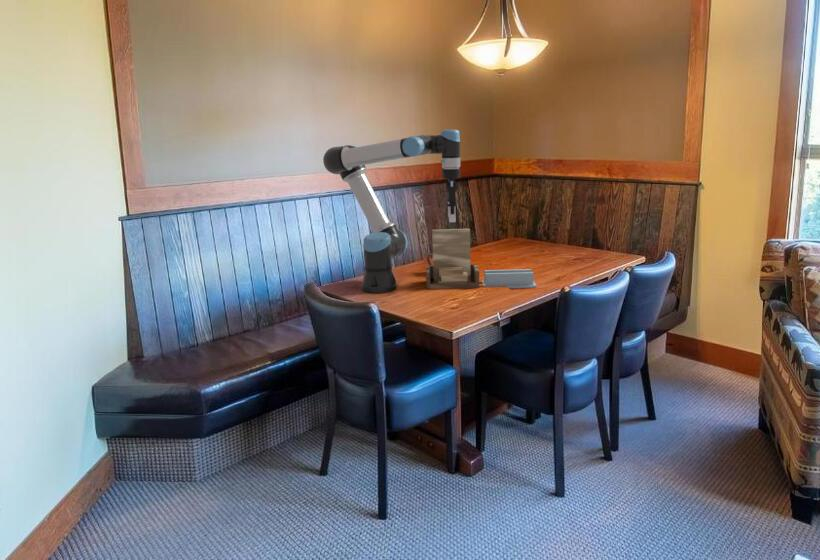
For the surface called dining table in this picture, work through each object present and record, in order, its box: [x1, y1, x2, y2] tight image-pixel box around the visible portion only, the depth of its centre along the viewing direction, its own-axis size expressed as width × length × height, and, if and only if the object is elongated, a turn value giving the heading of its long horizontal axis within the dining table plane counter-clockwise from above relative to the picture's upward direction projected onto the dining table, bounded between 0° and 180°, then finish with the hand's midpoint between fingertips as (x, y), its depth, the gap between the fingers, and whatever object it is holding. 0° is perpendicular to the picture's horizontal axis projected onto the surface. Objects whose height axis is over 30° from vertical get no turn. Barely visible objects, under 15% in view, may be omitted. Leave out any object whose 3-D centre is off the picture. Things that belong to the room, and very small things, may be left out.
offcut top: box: [439, 267, 463, 276], centre depth 259 cm, size 5×10×2 cm, turn 91°
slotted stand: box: [481, 268, 537, 289], centre depth 261 cm, size 10×22×6 cm, turn 88°
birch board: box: [431, 228, 471, 283], centre depth 264 cm, size 2×16×23 cm, turn 88°
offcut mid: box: [441, 272, 468, 282], centre depth 260 cm, size 5×11×2 cm, turn 88°
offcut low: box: [438, 279, 467, 283], centre depth 260 cm, size 5×12×2 cm, turn 88°
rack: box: [425, 263, 480, 290], centre depth 262 cm, size 14×22×8 cm, turn 88°
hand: (451, 219), depth 257 cm, fingers open, 13 cm apart
